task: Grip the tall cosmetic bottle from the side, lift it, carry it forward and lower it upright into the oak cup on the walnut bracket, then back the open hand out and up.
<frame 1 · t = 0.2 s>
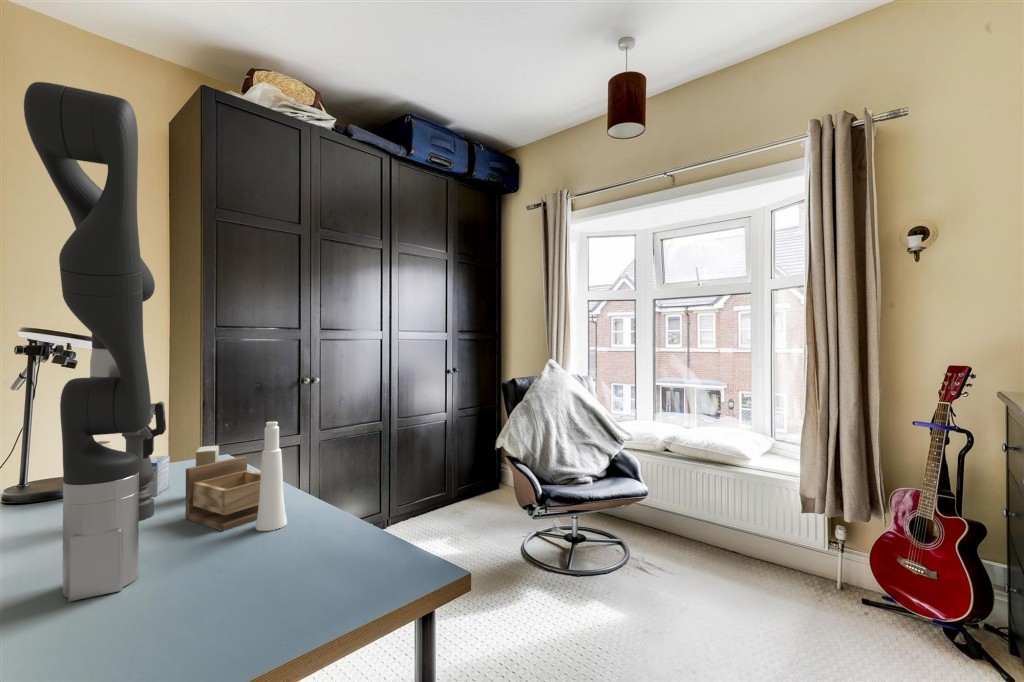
hand: (117, 460, 87), 17 cm above the table, tool pointing down, fingers open, 8 cm apart
cup bracket: (236, 515, 106), on the table
cosmetic bottle: (271, 526, 100), on the table
medicine box: (153, 493, 123), on the table
candle holder: (136, 518, 105), on the table
character mug: (93, 495, 121), on the table
skincare box: (207, 497, 119), on the table
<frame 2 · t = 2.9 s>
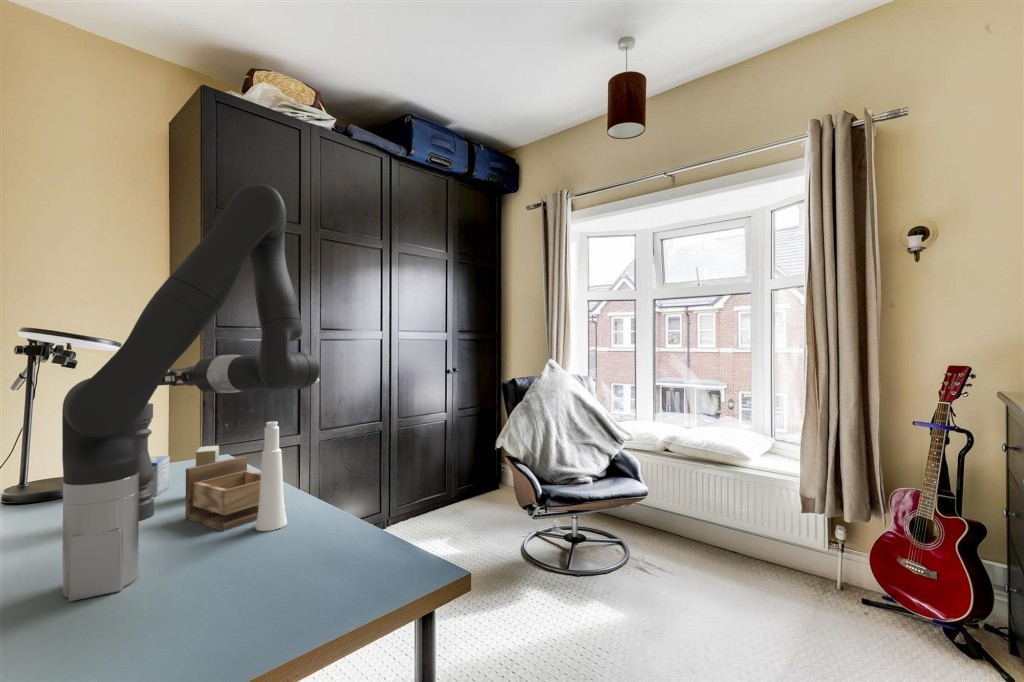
hand: (170, 376, 100), 32 cm above the table, tool horizontal, fingers open, 8 cm apart
nothing on the table moved.
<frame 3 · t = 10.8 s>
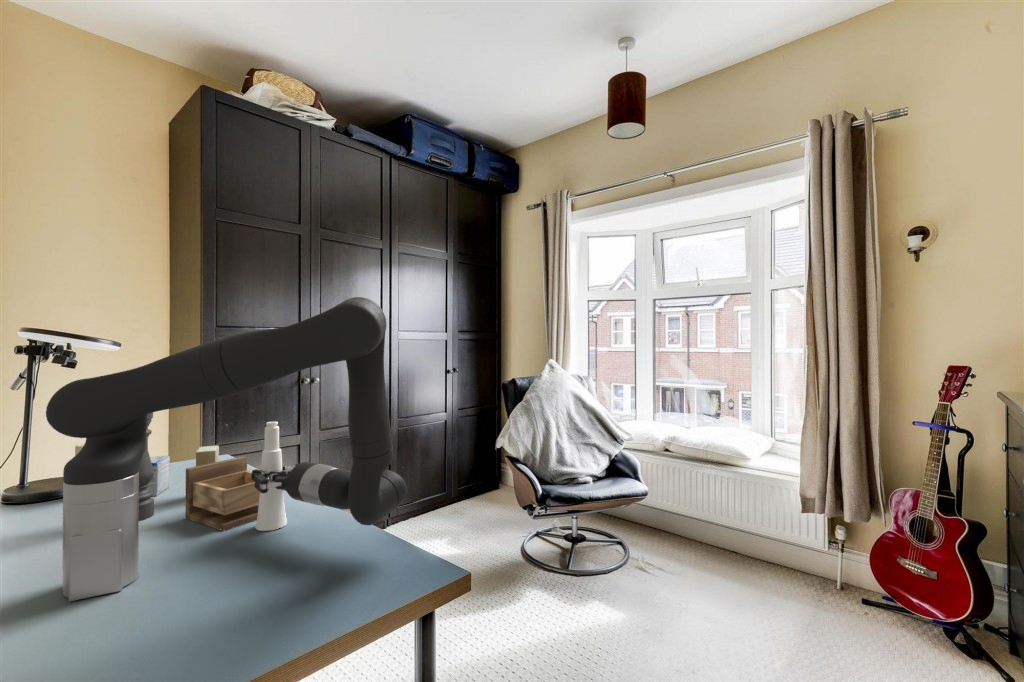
hand: (263, 472, 102), 11 cm above the table, tool horizontal, fingers closed on cosmetic bottle, 3 cm apart
cosmetic bottle: (271, 526, 100), on the table, touching gripper
everything else where it was.
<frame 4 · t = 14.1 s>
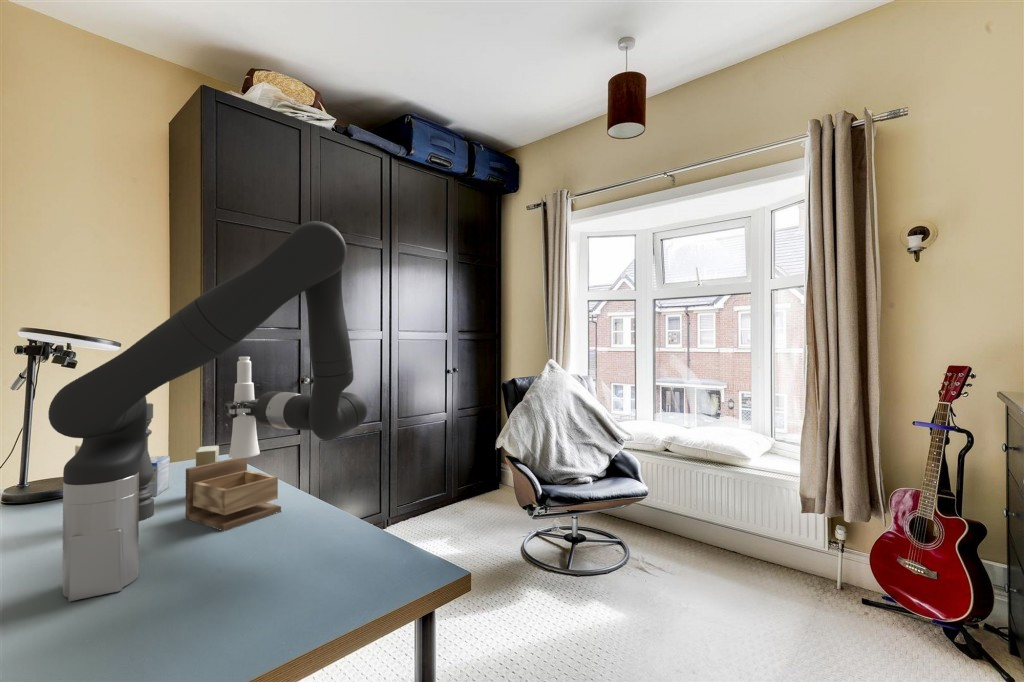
hand: (236, 405, 107), 25 cm above the table, tool horizontal, fingers closed on cosmetic bottle, 3 cm apart
cosmetic bottle: (244, 456, 105), point 14 cm above the table, touching gripper
everything else where it was.
when the fingers open (17 cm above the table, at t = 17.0 s): cosmetic bottle drops 2 cm, resting on cup bracket.
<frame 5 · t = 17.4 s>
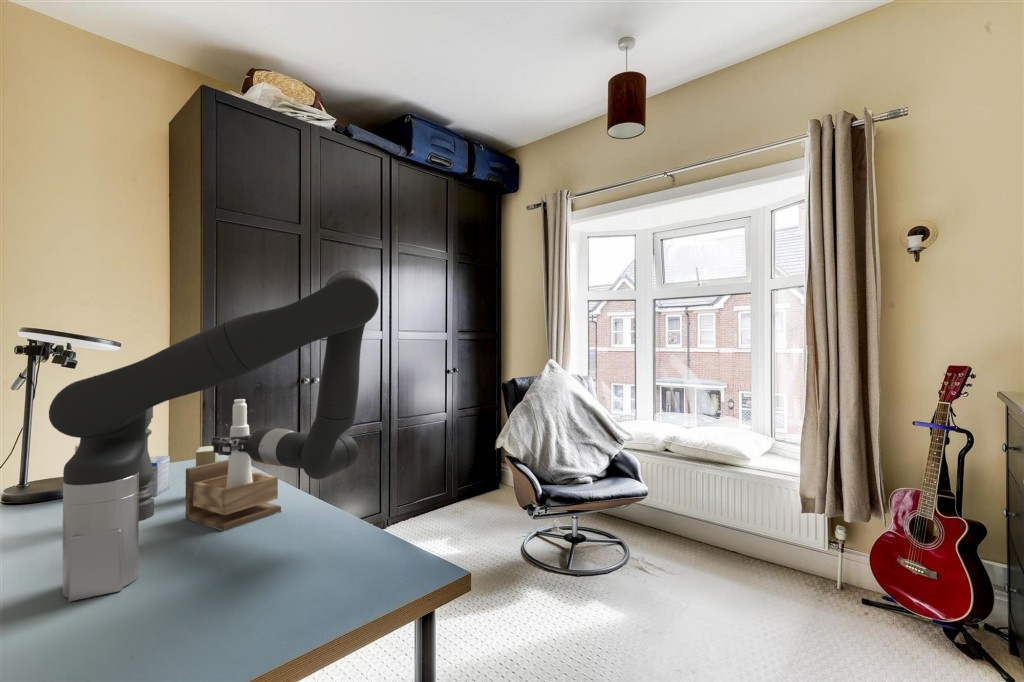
hand: (230, 438, 108), 17 cm above the table, tool horizontal, fingers open, 6 cm apart
cosmetic bottle: (239, 497, 107), point 4 cm above the table, touching cup bracket
everything else where it was.
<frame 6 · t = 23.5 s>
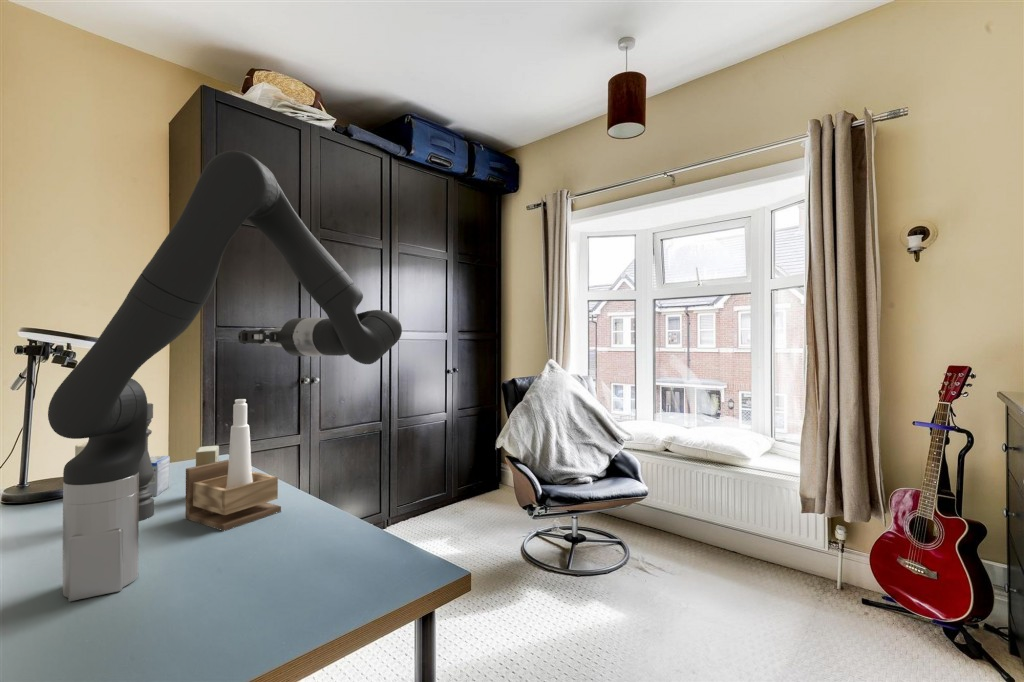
hand: (260, 337, 100), 40 cm above the table, tool horizontal, fingers open, 8 cm apart
nothing on the table moved.
at the end: cosmetic bottle 0.7 cm off-centre on the cup bracket, point 3.8 cm above the cup bracket's base; cosmetic bottle tilted 0°; the gripper is holding nothing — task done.
